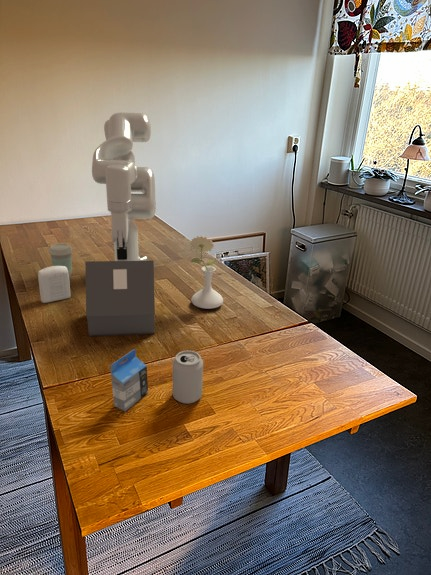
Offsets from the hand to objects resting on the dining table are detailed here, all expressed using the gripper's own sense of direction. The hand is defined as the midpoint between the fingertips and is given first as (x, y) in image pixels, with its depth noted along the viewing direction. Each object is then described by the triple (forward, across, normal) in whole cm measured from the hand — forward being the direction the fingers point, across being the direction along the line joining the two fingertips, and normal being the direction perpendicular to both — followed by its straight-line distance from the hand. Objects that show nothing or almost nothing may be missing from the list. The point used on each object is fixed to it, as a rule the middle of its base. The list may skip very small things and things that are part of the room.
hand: (122, 258), depth 152 cm
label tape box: (+18, +52, +4) cm, 55 cm away
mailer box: (+17, +13, 0) cm, 21 cm away
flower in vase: (+17, +1, +28) cm, 33 cm away
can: (+18, +52, +18) cm, 57 cm away
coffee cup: (+17, -26, -25) cm, 40 cm away
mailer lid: (+3, +17, 0) cm, 17 cm away
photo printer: (+17, -6, -24) cm, 30 cm away
